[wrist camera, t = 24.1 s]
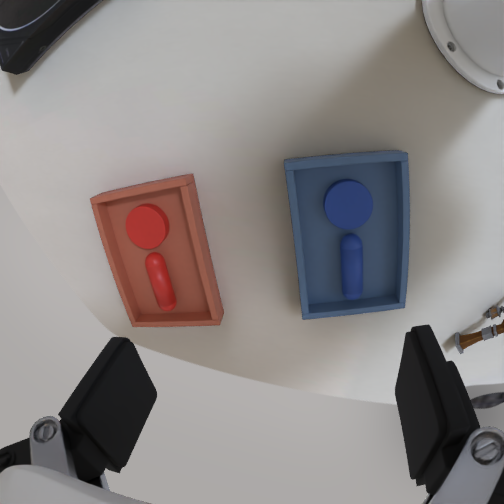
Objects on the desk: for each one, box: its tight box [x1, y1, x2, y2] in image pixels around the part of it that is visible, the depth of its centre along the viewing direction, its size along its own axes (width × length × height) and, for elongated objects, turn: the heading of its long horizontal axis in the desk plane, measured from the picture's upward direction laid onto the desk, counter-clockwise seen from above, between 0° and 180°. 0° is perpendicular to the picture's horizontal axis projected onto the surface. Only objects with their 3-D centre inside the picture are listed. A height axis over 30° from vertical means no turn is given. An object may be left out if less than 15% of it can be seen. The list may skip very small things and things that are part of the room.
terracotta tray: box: [90, 174, 224, 327], centre depth 27 cm, size 13×9×2 cm
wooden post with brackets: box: [455, 305, 504, 354], centre depth 25 cm, size 2×8×4 cm, turn 135°
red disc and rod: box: [125, 203, 177, 311], centre depth 27 cm, size 10×4×2 cm, turn 9°
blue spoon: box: [323, 179, 373, 300], centre depth 24 cm, size 10×4×2 cm, turn 9°
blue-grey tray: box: [284, 150, 410, 320], centre depth 24 cm, size 13×9×2 cm
